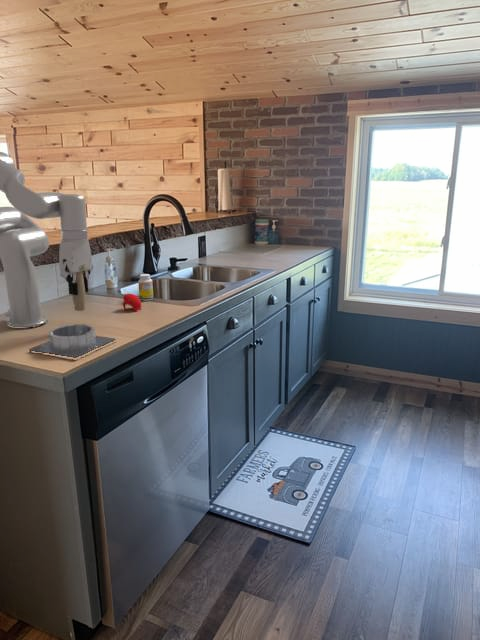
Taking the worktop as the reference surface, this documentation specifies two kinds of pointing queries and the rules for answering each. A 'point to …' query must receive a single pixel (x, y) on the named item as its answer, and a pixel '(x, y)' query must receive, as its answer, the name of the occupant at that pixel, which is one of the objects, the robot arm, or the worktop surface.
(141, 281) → the supplement bottle
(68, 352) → the duct collar
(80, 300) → the handle
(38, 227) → the robot arm
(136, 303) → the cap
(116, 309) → the worktop surface
